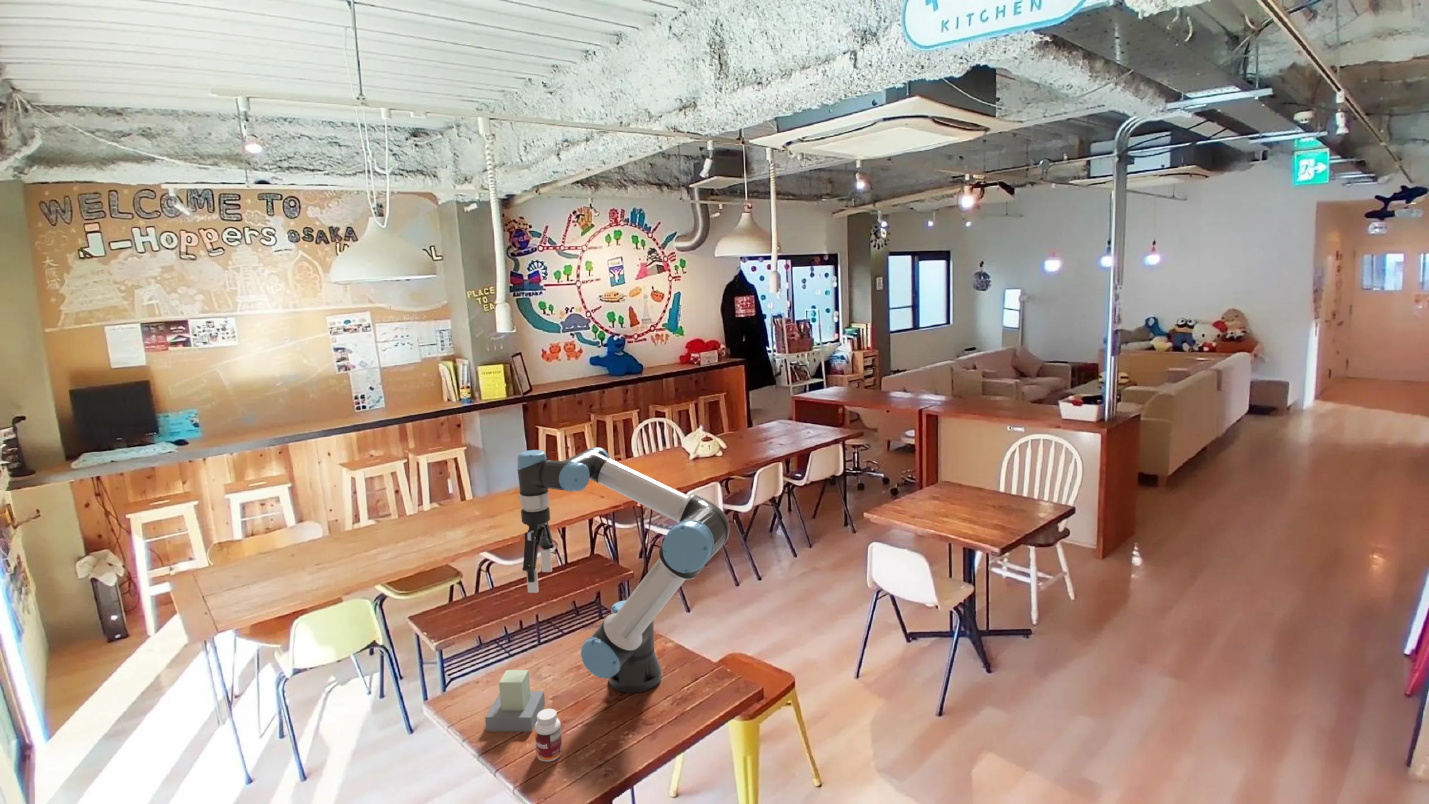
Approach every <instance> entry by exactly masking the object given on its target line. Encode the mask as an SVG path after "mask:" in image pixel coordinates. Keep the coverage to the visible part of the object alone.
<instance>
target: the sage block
mask: <svg viewBox="0 0 1429 804" xmlns="http://www.w3.org/2000/svg"><path fill="white" fill-rule="evenodd" d="M530 684H531V683H530V671H529V669H506V670H505V672H504V673H503V674H502V676H501V678H500V680H499V681H498V688H499V693H500V701H501V710H524V709H525V707H526V705H527V703H528V701H529V699H530V698H531V696H530V691H531V685H530Z"/></svg>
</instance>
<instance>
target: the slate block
mask: <svg viewBox="0 0 1429 804" xmlns="http://www.w3.org/2000/svg"><path fill="white" fill-rule="evenodd" d="M530 696H531V698H530V699H529V701H528V703H527V705H526V707H525V709H524V710H501V701H500V692H498V695H497V697H496V698H495V700H494V701H493V703H492V705H491V707H490V708H489V710H488V712H487V714H486V715H485V716H484V717H485V718H484V720H485V729H486V732H520V733H521V732H525V733H526V732H528V733H529V732H533V731H534V730H535V724H536V722H537V714H538V713H539V712H540V711H542V710H544V707H545V705H546V701H545V691H544V690H530Z"/></svg>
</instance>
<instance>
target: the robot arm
mask: <svg viewBox="0 0 1429 804" xmlns="http://www.w3.org/2000/svg"><path fill="white" fill-rule="evenodd" d="M516 471H517V475H518V476H517V477H518V487H519V496H518V500H520V508H521V510H520V516H521V523H522V524H523V525H526V526H528V529H527V532H524V549H523V563H522V565H523V566H522V568H521V570H522V571H523V572H526V584H527V593H530V594H531V593H535V594H537V593H539V581H538V580H539V579H538V578H539V575H538V568H537V567H536V566H537V561H538V554H539V553H538V552H539V547H540V548H541V549H540V562H541V564H540V565H541V572H542V573H552V572H553V565H552V550H551V549H554V547H555V545H554V544H553V536H552V534H551V530H550V526H549V522H550V520H551V512H550V510H551V509H550V507H549V506H550V496H549V494H550V493H549V489H551V490H559V491H566V492H582V491H584V490H585V489H586V487H587V485H589V481H590V480H591V481H593V482H595V483H597V484H599V485H602V486H604V487H605V488H607V489H609V490H612V491H614V492H616V493H618V494H620V495H622V496H624V497H627V498H628V499H630V500H631V501H634V502H636V503H638V504H640V505H642V506H645V507H646V508H648V509H650V510H652V511H655V512H657V513H659V514H661V515H663V516H664V517H666V518H668V519H671V520H673V521H675V522H677V523H676V524H675V525H674V526H672V527H671V528H670V529H669V530H668V532H667V533H666V535H665V537H664V539H663V541H662V544H661V545H660V547H659V549H658V550H657V554H658V559H657V561H655V563H654V564H653V566H652V567H651V568H650V570H648V572H647V573H646V575H645V576H644V577H643V579H642V580H641V581H640V583H639V584H638V585H637V586H636V588H635V589H634V590H633V592H632V593H631V594H630V595H629V597H628V598H627V599H626V600H620V601H618V602H615V603H613V604H612V605H611V611H610V612H611V614H608V615H607V616H606V617H605V619H604V620H603V621H602V622H601V624H600V625H599V626H598V628H597V629H596V630H595V631H594V633H592V635H591V636H590V637H588V638H586V639H585V641H584V642H583V644H582V646H581V648H580V657H581V659H582V664H583V665H584V667H585V669H586V670H587V671H588V672H590V673H591V675H593V676H595V677H597V678H599V679H605V680H606V679H608V683H609V685H610V687H612V688H613V689H614V690H616V691H619V692H621V693H628V694H634V693H635V694H637V693H638V694H639V693H643V692H646V691H648V690H651V689H653V688H655V687H656V686H658V684H659V683H661V680H662V666H661V665H660V663H659V660H658V657H657V654H656V652H655V634H654V633H655V632H654V620H655V619H656V617H657V616H658V614H659V613H660V612H661V611H662V609H664V608H665V606H666V605H667V603H668V602H669V601H670V600H671V598H672V597H673V596H674V594H676V592H677V591H678V590H679V589H680V588H681V586H682V585H683V583H684V582H685V581H686V580H687V581H688V580H693V579H695V578H696V577H697V576H698V574H699V573H700V572H701V571H702V570H703V569H704V568H705V566H706V565H707V563H708V562H709V561H710V560H711V558H713V557H714V555H715V554H716V553H717V552H718V551H719V550H720V549H722V548H723V546H725V544H726V543H727V541H728V540H729V535H730V531H731V526H730V522H729V519H728V516H727V515H726V513H725V512H724V511H723V510H722V509H721V508H720V507H718V505H716V504H715V503H712V501H709V500H708V499H705V498H703V497H701V496H699V495H697V494H692V495H688V494H686V493H683V492H681V491H679V490H678V489H675V488H674V487H671V486H669V485H667V484H665V483H662V482H661V481H659V480H656V479H655V478H652V477H650V476H648V475H645V474H644V473H641V472H639V471H638V470H635V469H633V468H630V467H629V466H627V465H624V464H622V463H620V462H618V461H616V460H614V459H613V458H611V457H610V455H609V453H608V452H607V451H606V450H605V448H602V447H592V448H587V449H586V450H583V451H582V452H580V453H578V454H576V455H574V456H571V457H568V458H565V460H551V459H547V454H546V452H545V451H543V450H539V449H532V450H524V451H522V452H520V453H519V454H518V455H517V469H516Z"/></svg>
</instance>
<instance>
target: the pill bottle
mask: <svg viewBox="0 0 1429 804" xmlns="http://www.w3.org/2000/svg"><path fill="white" fill-rule="evenodd" d="M561 725H562V724H561V721H560V719H559V717H558V714H557V710H555V709H553V708H545V709H544V708H543V710H542V711H540V712H539V713H538V714H537V722H536V724H535V727H534V736H535V738H534V739H535V750H536V751H535V752H536V753H535V754H536V758H537V759H538V760H539V761H541V762H546V763H547V762H548V763H549V762H553V761H556V760H557V759H559V757H560V756H561V755H562V753H563V743H562V742H563V741H562V728H561V727H562V726H561Z"/></svg>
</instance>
